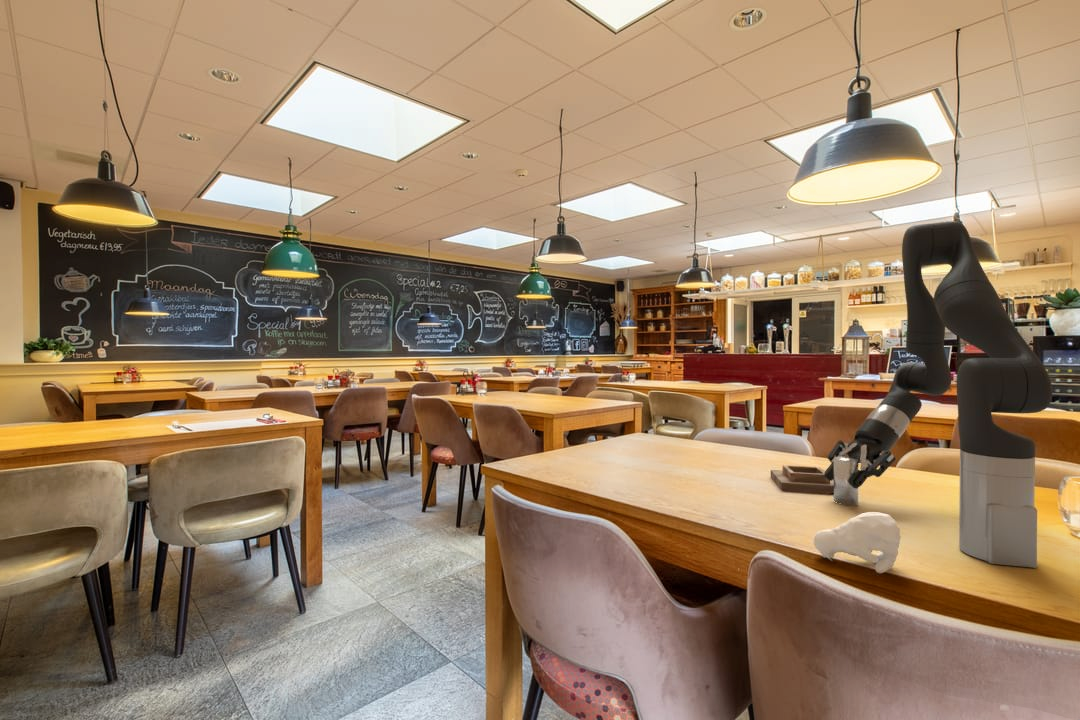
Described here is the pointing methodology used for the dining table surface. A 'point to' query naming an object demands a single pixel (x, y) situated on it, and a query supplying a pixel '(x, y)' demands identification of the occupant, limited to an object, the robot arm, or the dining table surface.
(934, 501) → the dining table surface
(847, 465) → the steel canister
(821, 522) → the dining table surface
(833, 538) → the white animal figurine
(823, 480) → the plate
